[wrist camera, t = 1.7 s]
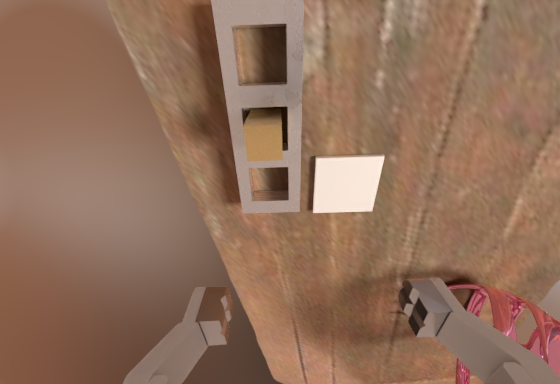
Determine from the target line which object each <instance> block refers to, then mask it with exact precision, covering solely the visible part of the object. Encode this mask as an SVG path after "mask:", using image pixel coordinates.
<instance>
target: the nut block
mask: <svg viewBox="0 0 560 384" xmlns="http://www.w3.org/2000/svg"><path fill="white" fill-rule="evenodd" d="M243 128H244V137H245V145H246V154H247V161H274V160H283V150H282V119H281V108H279V109H251V111H250V113H249V115H248V117H247V119H246V121H245V123H244V125H243Z"/></svg>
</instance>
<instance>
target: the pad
mask: <svg viewBox="0 0 560 384" xmlns="http://www.w3.org/2000/svg"><path fill="white" fill-rule="evenodd" d="M384 157H385V156H384V155H383V154H370V155H339V156H316V158H315V175H314V193H313V213H327V212H361V211H372V209H373V205H374V201H375V196H376V192H377V188H378V183H379V179H380V175H381V170H382V166H383V162H384Z"/></svg>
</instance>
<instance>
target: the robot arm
mask: <svg viewBox="0 0 560 384" xmlns="http://www.w3.org/2000/svg"><path fill="white" fill-rule="evenodd" d="M402 285H403V287H404V288H402V289H401V290H400V291H399V295H398V298H399V303H400V306H401V308H402V311H403V312H404V313H405V314H406V315H408V316H409V320H408V322H409V324H410V326H411V328H412V330H413V332H414V334H415V336H416V337H436V339H437V340H438V341H439V342H441V343H442V344H443V345H444V346H445V347H446V348H447V349H448V350H449V351H450V352H451V353H452V354H453V355H455V356H456V357H457V358H458V359H459V360H460V361H461V362H462V363H463V364H464V365H465V366H466V367H467V368H468V369H470V370H471V371H472V372H473V373H474V374H475V375H476V376H477V377H478V378H479V379H480V380H481V381H482V382H484V384H560V377H559V376H558V375H557V374H556V373H555V372H554V371H553V370H552V368H551V367H550V366H549V365H548V364H547V363H546V362H545V361H544V360H543V359H542V358H540V357H538V356H537V355H535V354H534V353H532V352H531V351H529V350H528V349H526V348H525V347H523V346H522V345H520V344H519V343H517V342H516V341H514V340H513V339H511V338H509V337H508V336H506V335H505V334H503V333H502V332H500V331H499V330H497V329H496V328H494V327H493V326H491V325H490V324H488V323H487V322H485V321H483V320H482V319H480V318H479V317H477V316H476V315H474V314H473V313H471V312H466V310H465V309H464V308H463V306H462V305H461V304H460V302H459V301H458V300H457V299H456V297H455V296H454V295H453V293H452V292H451V291H450V290H449V288H448V287H447V286H446V284H445V283H444V282H443V280H441V279H440V278H418V279H405V280H404V281H403V283H402ZM229 295H230V289H229V287H196V288H195V290H194V291H193V294H192V297H191V299H190V302H189V305H188V308H187V310H186V313H185V316H184V319H183V321H182V323H178V324H177V325H176V326H175V327H174V328H173V329H172V330H171V331H170V332H169V333H168V334H167V335H166V336H165V337H164V338H163V339H162V340H161V341H160V342H159V343H158V344H157V345H156V346H155V347H154V348H153V349H152V350H151V351H150V352H149V353H148V354H147V355H146V357H144V358H143V360H142V361H140V363H138V364H137V365H136V366H135V367H134V369H132V371H131V372H130V373H129V374H128V375H127V376H126V378H125V381H124V383H123V384H182V382H183V381H184V380H185V378H186V377H187V376H188V374H189V373H190V371H191V370H192V368H193V367H194V365H195V364H196V363H197V361H198V360H199V358H200V357H201V356H202V354H203V353H204V351H205V350H206V349H207V347H208V345H222V344H227V340H228V335H229V329H230V328H229V325H228V322H229V320H231V318H232V309H233V302H232V297H231V296H229Z"/></svg>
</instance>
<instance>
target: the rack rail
mask: <svg viewBox="0 0 560 384" xmlns="http://www.w3.org/2000/svg"><path fill="white" fill-rule="evenodd" d="M211 4H212V11H213V17H214V24H215V31H216V37H217V44H218V51H219V58H220V64H221V71H222V78H223V84H224V91H225V98H226V105H227V111H228V118H229V125H230V131H231V138H232V145H233V152H234V158H235V165H236V172H237V178H238V185H239V192H240V199H241V205H242V212H243V213H272V212H300V172H301V119H302V66H303V13H304V0H211ZM264 27H286V82H265V83H242V77H241V68H240V59H239V50H238V41H237V31H236V29H237V28H264ZM258 107H287V143H282V150H283V160H274V161H247V154H246V145H245V137H244V128H243V125H244V123H245V121H246V114H245V108H258ZM271 167H288V190H278V191H254V188H253V178H252V169H251V168H271Z"/></svg>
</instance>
